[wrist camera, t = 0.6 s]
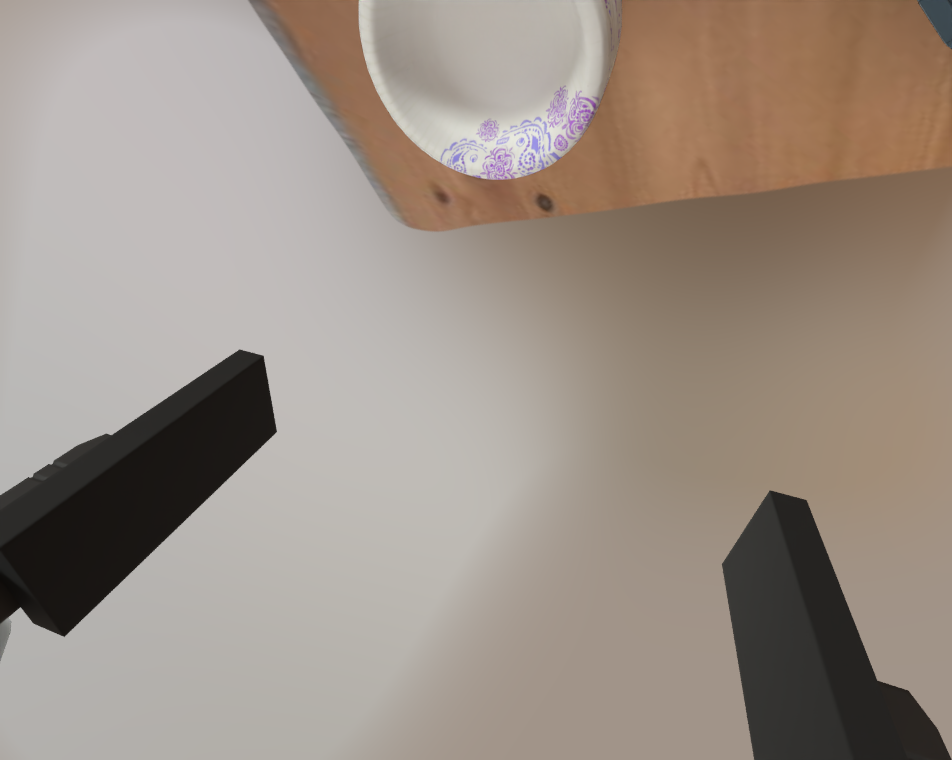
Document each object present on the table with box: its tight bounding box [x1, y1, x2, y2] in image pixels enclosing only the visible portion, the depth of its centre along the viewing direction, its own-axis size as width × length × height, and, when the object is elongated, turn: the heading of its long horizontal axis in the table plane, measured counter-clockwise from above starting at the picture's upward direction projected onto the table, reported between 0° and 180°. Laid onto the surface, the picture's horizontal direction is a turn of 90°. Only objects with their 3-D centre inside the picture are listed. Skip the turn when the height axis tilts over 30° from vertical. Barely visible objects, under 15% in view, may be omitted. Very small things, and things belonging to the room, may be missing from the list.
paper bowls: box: [359, 0, 622, 180], centre depth 30 cm, size 15×15×8 cm
